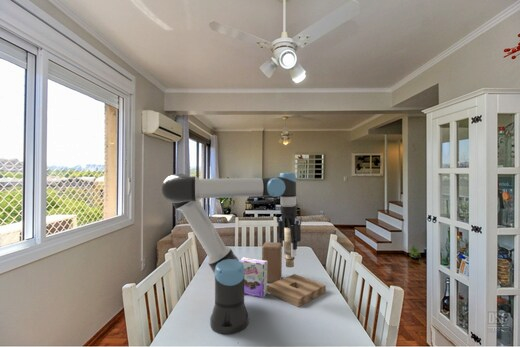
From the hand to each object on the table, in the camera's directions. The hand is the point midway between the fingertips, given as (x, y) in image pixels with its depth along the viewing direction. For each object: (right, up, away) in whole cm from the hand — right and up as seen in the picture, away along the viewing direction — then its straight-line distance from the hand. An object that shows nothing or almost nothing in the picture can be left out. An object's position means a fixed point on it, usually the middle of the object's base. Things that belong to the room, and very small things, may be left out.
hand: (289, 254), depth 122 cm
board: (+4, -21, +9) cm, 24 cm away
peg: (0, -5, 0) cm, 5 cm away
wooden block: (-7, -22, +24) cm, 33 cm away
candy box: (-18, -22, +7) cm, 29 cm away
